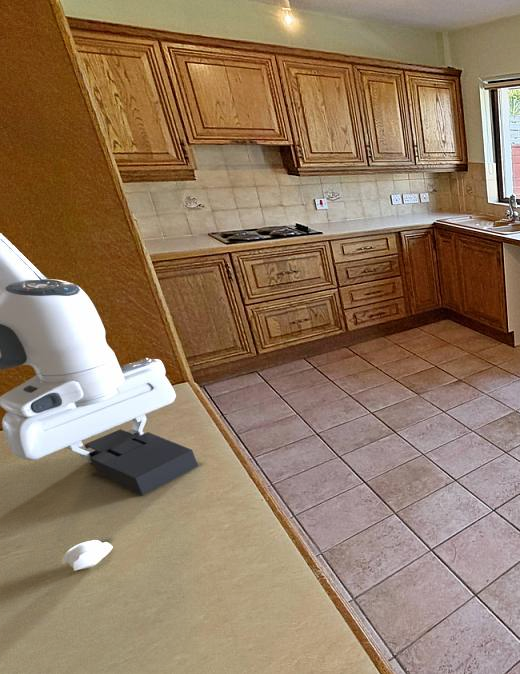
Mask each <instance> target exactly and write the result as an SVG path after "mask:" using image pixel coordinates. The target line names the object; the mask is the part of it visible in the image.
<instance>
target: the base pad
mask: <svg viewBox="0 0 520 674" xmlns="http://www.w3.org/2000/svg"><path fill="white" fill-rule="evenodd" d="M143 433H144V432H143ZM135 441H136V442H139V443H141V444H143V445H142V446H140V447H138V448H136V449H134V450H131V451H129V452H127V453H125V454H123V455H121V456H118V457H117V456H115V455H113V454H110V453H108V452H106V451H104V452H102V453H99V454H97V455H95V456H93V457H90V460H91V462H90V463H91V464H92V467H93V468H94V470H95V473H96V475H98V476H100V477H102V478H104V479H106V480H108V481H111V482H113V483H115V484H117V485H119V486H121V487H123V488H125V489H127V490H130V491H132V492H134V493H137V495H140V496H144V495H146V494H148V493H150V492H152V491H154V490H155V489H158V488H159V487H162V486H163V485H165V484H167V483H168V482H171V481H172V480H174V479H176V478H177V477H180V476H181V475H184V474H185V473H187V472H189V471H191V470H193V469H194V468H196V467H198V466H199V464H198V462H197V459H196V457H195V453H194V450H193V449H192V448H188V447H187V446H184V445H181V444H179V443H177V442H174V441H171V440H169V439H166V438H164V437H162V436H159V435H156V434H155V433H151V432H149V431H146V432H145V433H144V434H142V435H140V436H138V437H135Z"/></svg>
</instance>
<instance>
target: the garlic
mask: <svg viewBox="0 0 520 674" xmlns="http://www.w3.org/2000/svg"><path fill="white" fill-rule="evenodd" d="M112 549H113V545H112V544H110V543H109V542H107V541H105V542H101V541H100V540H97V539H92V540H87V541H84V542H81V543H78V544H76V545H74V546H73V547H71V548H70V549H68V550H67V552H65V554H64V555H63V557H62V560H61V563H60V565H61V566H62V565H64V564H66V563H68V565H69V566H70V567H71V568H73V572H76V571H79V570H87V569H90V568H92V567H95V566H96V565H97V564H99V563H100V562H101V560H102V559H103V558H105V557H106V556H107V555H108V554H109V553H110V552H111V551H112Z"/></svg>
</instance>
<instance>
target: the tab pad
mask: <svg viewBox="0 0 520 674" xmlns="http://www.w3.org/2000/svg"><path fill="white" fill-rule="evenodd" d="M135 437H138V436H136V435H134V434H131V433H129V432H127V431H126V430H124V429H121V428H120V429H118V430H114V431H113V432H111V433H108V434H106V435H103V436H100V437H98V438H96V439H94V440H92V441H89V442H87V443H84V444H83V446H84V447H85V449H87V448H92V449H95V450H96V451H97V453H98V454H99V453H102V452H104V451H106V452H108V453H110V454H113V455H115V456H117V457H118V456H121V455H123V454H125V453H127V452H129V451H131V450H134V449H136V448H138V447H140V446H142V445H143V444H141V443H139V442H136V441H135Z"/></svg>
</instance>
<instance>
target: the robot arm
mask: <svg viewBox="0 0 520 674" xmlns="http://www.w3.org/2000/svg"><path fill="white" fill-rule="evenodd" d="M20 366H31V367H32V368H33V370H34V372H35V375H34V376H32V378H30V379H27V380H26V381H24V382H23V383H21V384H20V385H18V386H15V387H13V388H12V389H11V390H9V391H7V392H5V393H4V394H2V395H1V396H0V407H1V408H2V409H3V410H5V412H6V413H5V414H4V416H3V417H2V420H1V425H2V426H1V427H2V430H3V435H4V437H5V440H6V443H7V446H8V447H9V449H10V451H11V452H12V453H13V454H14V455H15V456H16V457H18V458H20V459H23V460H27V461H37V460H38V459H41V458H43V457H46V456H48V455H51V454H54V453H55V452H58V451H60V450H63V449H65V448H66V449H68V450H71V451H73V452H76V453H78V454H79V456H80V458H81V460H82V461H83V462H84V463H86V464H90V463H92V462H91V460H90V457H93V456H95V455H97V454H98V453H97V451H96V450H95V449H92V448H87V449H86V448H85V449H83V448H81V447H84V444H83V441H84V440H87V439H89V438H91V437H93V436H96V435H99V434H101V433H103V432H106V431H108V430H111V429H113V428H115V427H118V426H120V425H122V424H125V423H127V422H129V421H133V422H132V426H131V428H130V429H129V430H127V431H126V432H129V433H131V434H134V435H136V436H140V435H142V434H144V431H143V430H144V428H145V425H146V422H147V416H146V415H147V414H149V413H151V412H154V411H157V410H158V409H162V408H163V407H166V406H168V405H171V404H173V403H174V401H175V400H176V397H177V394H176V391H175V389H174V387H173V386H172V384H171V382H170V381H169V379H168V378H167V376H166V368H165V365H164V363H163V362H162V361H161V360H160V359H158V358H150V357H146V358H141V359H140V360H137V361H135V362H131V363H127V364H124V365H120V364H119V361H118V358H117V356H116V354H115V352H114V350H113V349H112V348H111V347H110V346H109V344H108V343H107V339H106V329H105V327H104V324H103V322H102V319H101V317H100V315H99V312H98V310H97V309H96V307H95V305H94V303H93V301H92V300H91V298H90V297H89V296H88V294H87V293H86V292H85V291H84V290H83V289H82V287H80V286H79V285H77V284H76V283H73V282H70V281H65V280H61V279H56V278H55V279H54V278H48V277H47V276H45V275H44V274H43V273H42V272H41V271H40V270H39V269H37V267H36V266H35V265H34V264H33V263H32V262H31V261H30V260H29V259H27V258H26V257H25V256H24V255H23V253H22V252H20V250H19V249H17V247H16V246H15V245H13V244H12V242H10V241H9V240H8V239H7V238H6V236H4V235H3V234H2V233H1V232H0V371H4V370H8V369H13V368H17V367H20Z"/></svg>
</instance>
